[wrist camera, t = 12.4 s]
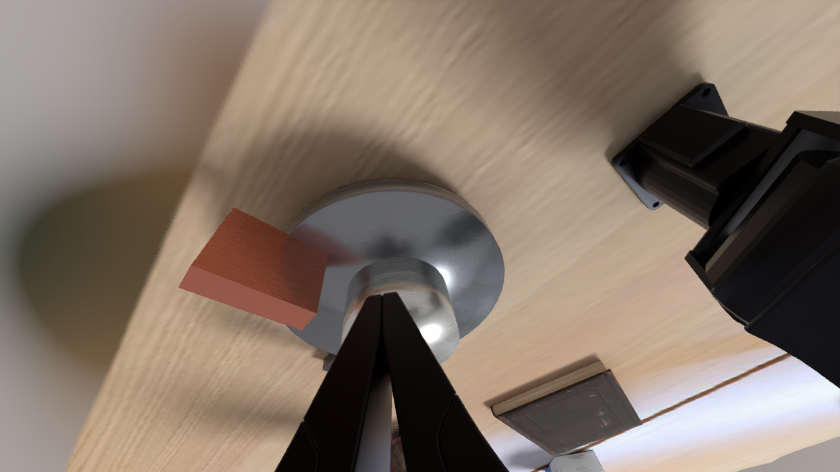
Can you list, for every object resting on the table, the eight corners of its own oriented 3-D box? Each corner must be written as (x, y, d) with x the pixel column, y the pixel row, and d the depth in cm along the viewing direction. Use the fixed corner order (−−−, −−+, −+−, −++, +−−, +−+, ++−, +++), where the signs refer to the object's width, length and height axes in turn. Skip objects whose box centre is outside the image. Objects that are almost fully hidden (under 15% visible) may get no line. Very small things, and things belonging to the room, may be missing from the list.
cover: (444, 249, 19) (461, 305, 15) (447, 319, 23) (461, 376, 19) (334, 265, 19) (324, 327, 15) (357, 333, 23) (354, 393, 19)
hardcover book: (599, 353, 37) (611, 371, 35) (633, 409, 50) (643, 424, 48) (488, 401, 41) (493, 419, 40) (545, 441, 54) (551, 456, 52)
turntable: (506, 158, 18) (560, 216, 13) (488, 325, 28) (514, 397, 22) (228, 191, 17) (163, 268, 12) (311, 352, 27) (295, 433, 21)
